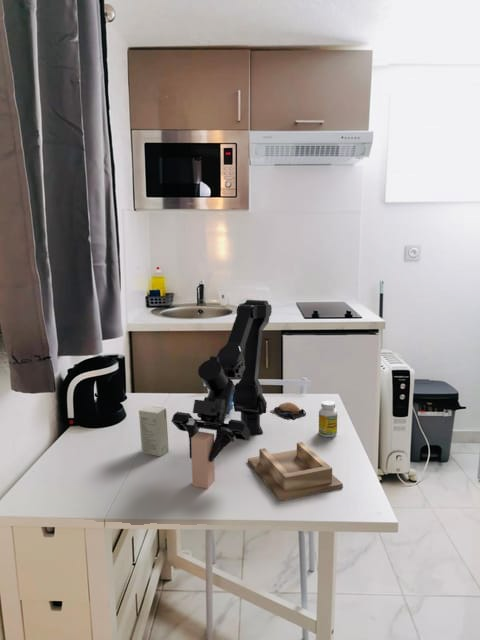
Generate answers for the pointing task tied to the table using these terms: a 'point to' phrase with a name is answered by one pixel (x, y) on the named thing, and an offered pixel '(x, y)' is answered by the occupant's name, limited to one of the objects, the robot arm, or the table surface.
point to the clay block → (202, 460)
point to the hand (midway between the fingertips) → (200, 459)
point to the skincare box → (153, 430)
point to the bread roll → (289, 411)
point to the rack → (294, 472)
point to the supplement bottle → (328, 419)
